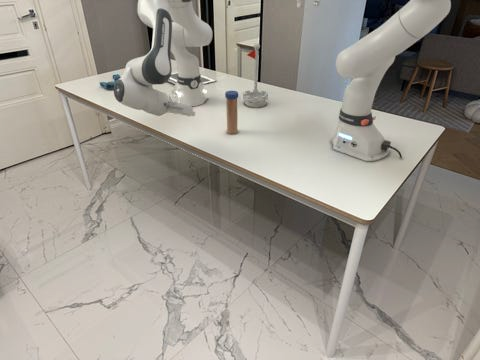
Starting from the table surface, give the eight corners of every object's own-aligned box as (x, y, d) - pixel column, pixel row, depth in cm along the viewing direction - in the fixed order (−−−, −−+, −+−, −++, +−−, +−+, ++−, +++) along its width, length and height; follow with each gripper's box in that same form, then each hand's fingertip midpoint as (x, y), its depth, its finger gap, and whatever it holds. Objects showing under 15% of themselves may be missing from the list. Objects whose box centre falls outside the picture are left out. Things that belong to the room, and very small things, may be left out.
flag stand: (261, 97, 185) (263, 39, 169) (271, 105, 175) (275, 44, 158) (239, 100, 181) (239, 41, 165) (248, 109, 171) (249, 46, 154)
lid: (222, 97, 140) (222, 93, 139) (230, 94, 144) (230, 89, 142) (233, 100, 137) (233, 95, 136) (240, 96, 141) (240, 92, 140)
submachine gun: (143, 67, 226) (161, 73, 210) (144, 73, 228) (162, 79, 212) (92, 77, 208) (107, 85, 191) (93, 83, 210) (109, 91, 193)
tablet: (161, 76, 220) (161, 75, 220) (187, 70, 231) (187, 69, 231) (189, 87, 200) (189, 87, 199) (216, 81, 211) (216, 80, 210)
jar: (225, 132, 149) (223, 94, 139) (231, 128, 152) (230, 91, 142) (233, 135, 146) (233, 96, 137) (239, 131, 150) (239, 93, 140)
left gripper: (176, 96, 117) (205, 107, 128) (144, 92, 130) (173, 102, 141) (172, 114, 118) (201, 123, 128) (141, 109, 131) (169, 117, 141)
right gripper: (297, -35, 119) (294, 9, 127) (336, -36, 129) (331, 5, 137) (285, -35, 124) (283, 7, 131) (324, -36, 134) (319, 4, 141)
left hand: (186, 112), depth 135 cm, fingers open, 8 cm apart
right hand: (308, 6), depth 134 cm, fingers open, 8 cm apart
